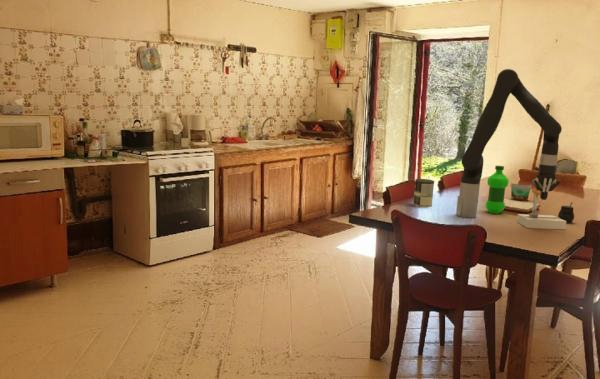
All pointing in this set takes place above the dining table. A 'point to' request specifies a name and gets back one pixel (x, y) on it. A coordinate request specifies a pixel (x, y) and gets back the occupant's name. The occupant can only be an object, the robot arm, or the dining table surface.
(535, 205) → the breaker handle
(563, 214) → the mate gourd
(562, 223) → the block
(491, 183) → the plastic bottle
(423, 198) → the coffee can
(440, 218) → the dining table surface
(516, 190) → the food container
